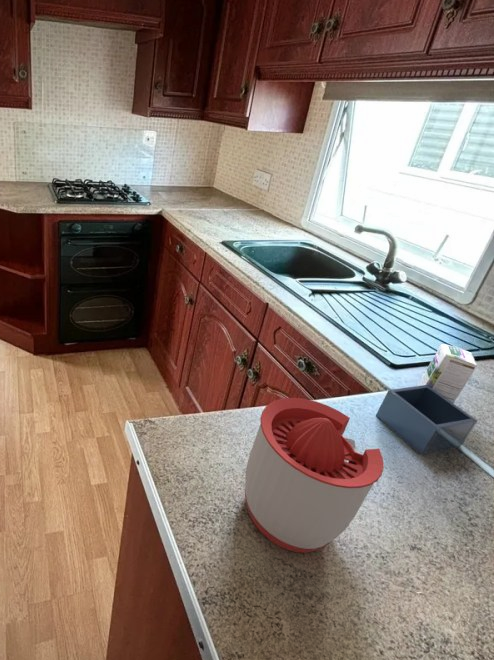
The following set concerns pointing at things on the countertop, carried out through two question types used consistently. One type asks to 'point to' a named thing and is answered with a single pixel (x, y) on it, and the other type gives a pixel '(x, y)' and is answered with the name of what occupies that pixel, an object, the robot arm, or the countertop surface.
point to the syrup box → (449, 371)
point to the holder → (425, 419)
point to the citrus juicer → (306, 474)
